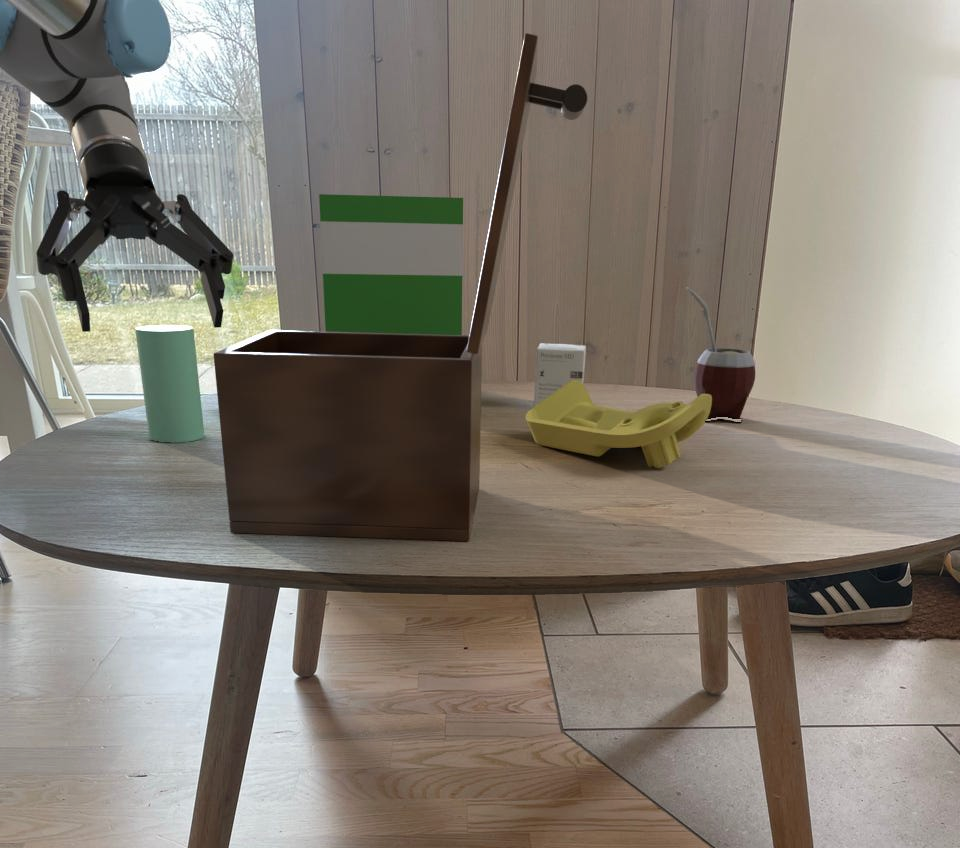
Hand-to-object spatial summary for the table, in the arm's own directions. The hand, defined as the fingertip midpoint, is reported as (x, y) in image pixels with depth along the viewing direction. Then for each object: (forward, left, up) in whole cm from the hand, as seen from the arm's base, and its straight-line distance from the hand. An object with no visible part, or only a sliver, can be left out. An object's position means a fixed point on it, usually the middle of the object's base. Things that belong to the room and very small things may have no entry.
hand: (154, 321), depth 98 cm
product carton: (+44, +20, -11) cm, 49 cm away
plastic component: (+49, -7, -11) cm, 51 cm away
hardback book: (+22, +27, -11) cm, 37 cm away
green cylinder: (+3, -5, -11) cm, 13 cm away
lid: (+37, -29, +12) cm, 49 cm away
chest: (+27, -29, -11) cm, 41 cm away
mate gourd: (+63, +14, -11) cm, 65 cm away
